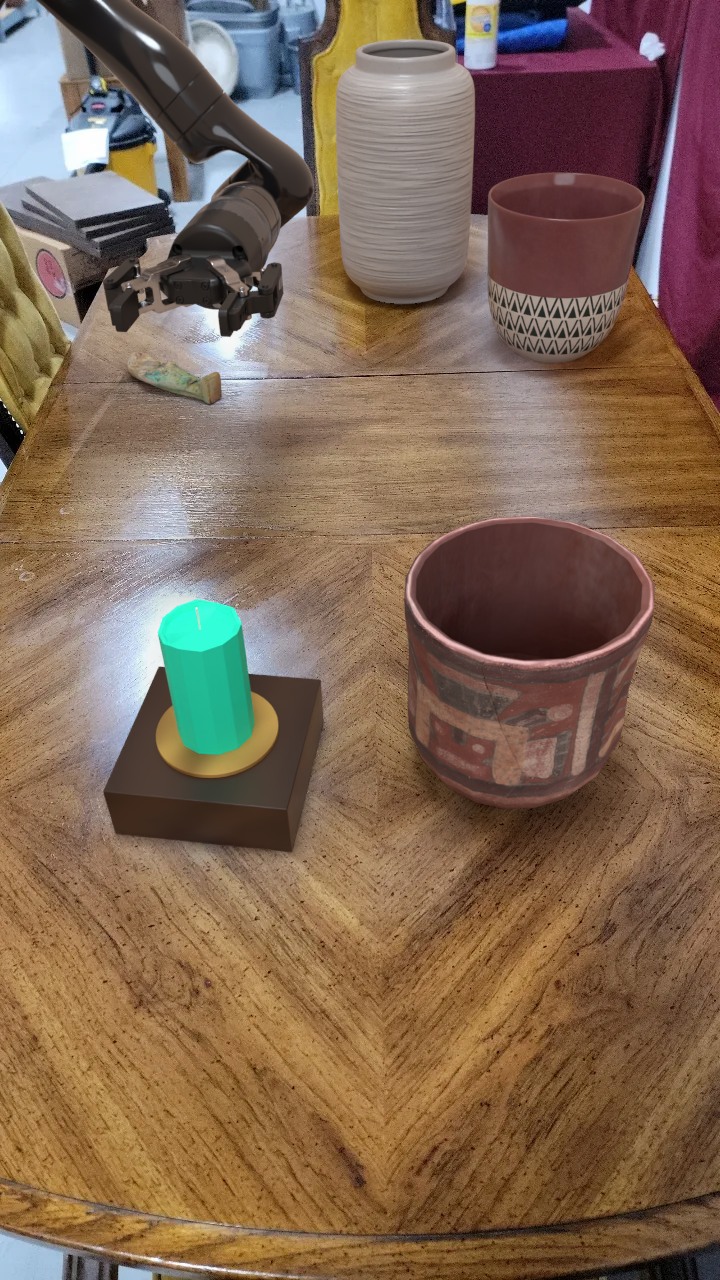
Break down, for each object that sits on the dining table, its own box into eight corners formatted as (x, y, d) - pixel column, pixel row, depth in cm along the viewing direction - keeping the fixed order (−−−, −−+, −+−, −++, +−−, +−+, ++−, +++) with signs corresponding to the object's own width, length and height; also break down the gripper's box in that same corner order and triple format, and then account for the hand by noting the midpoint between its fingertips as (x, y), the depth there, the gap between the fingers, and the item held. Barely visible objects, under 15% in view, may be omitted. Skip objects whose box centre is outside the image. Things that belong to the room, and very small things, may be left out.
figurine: (194, 413, 129) (190, 386, 126) (121, 380, 136) (116, 354, 134) (225, 398, 132) (222, 371, 129) (152, 367, 140) (147, 341, 137)
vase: (316, 295, 158) (303, 55, 136) (386, 256, 170) (385, 30, 148) (424, 322, 149) (429, 69, 127) (490, 279, 161) (504, 42, 139)
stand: (115, 834, 77) (101, 788, 73) (167, 707, 87) (157, 662, 84) (292, 852, 75) (286, 806, 71) (323, 721, 85) (320, 675, 82)
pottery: (621, 855, 74) (663, 679, 62) (388, 826, 77) (387, 651, 65) (616, 693, 87) (650, 522, 75) (418, 672, 90) (421, 504, 78)
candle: (234, 763, 75) (215, 643, 67) (164, 744, 76) (137, 624, 69) (267, 710, 79) (253, 591, 71) (200, 693, 81) (179, 575, 73)
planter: (504, 394, 131) (517, 226, 117) (462, 334, 145) (469, 179, 131) (642, 377, 133) (671, 211, 119) (588, 320, 148) (608, 167, 134)
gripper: (140, 205, 88) (73, 271, 76) (297, 209, 86) (255, 278, 74) (153, 289, 93) (93, 364, 81) (302, 294, 91) (263, 372, 79)
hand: (170, 322), depth 77 cm, fingers open, 8 cm apart
